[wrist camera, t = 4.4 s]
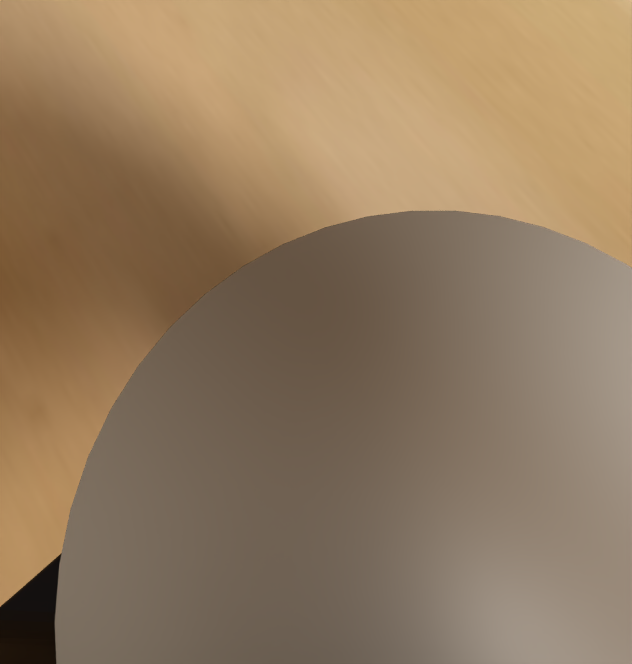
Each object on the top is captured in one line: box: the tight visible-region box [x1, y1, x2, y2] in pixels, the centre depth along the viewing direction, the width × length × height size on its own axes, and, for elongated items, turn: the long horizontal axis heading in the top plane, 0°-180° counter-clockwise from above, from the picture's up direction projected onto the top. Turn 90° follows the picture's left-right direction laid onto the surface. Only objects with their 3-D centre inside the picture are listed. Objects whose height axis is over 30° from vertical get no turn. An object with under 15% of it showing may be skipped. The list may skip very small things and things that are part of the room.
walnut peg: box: [55, 211, 632, 664], centre depth 9 cm, size 6×6×13 cm
